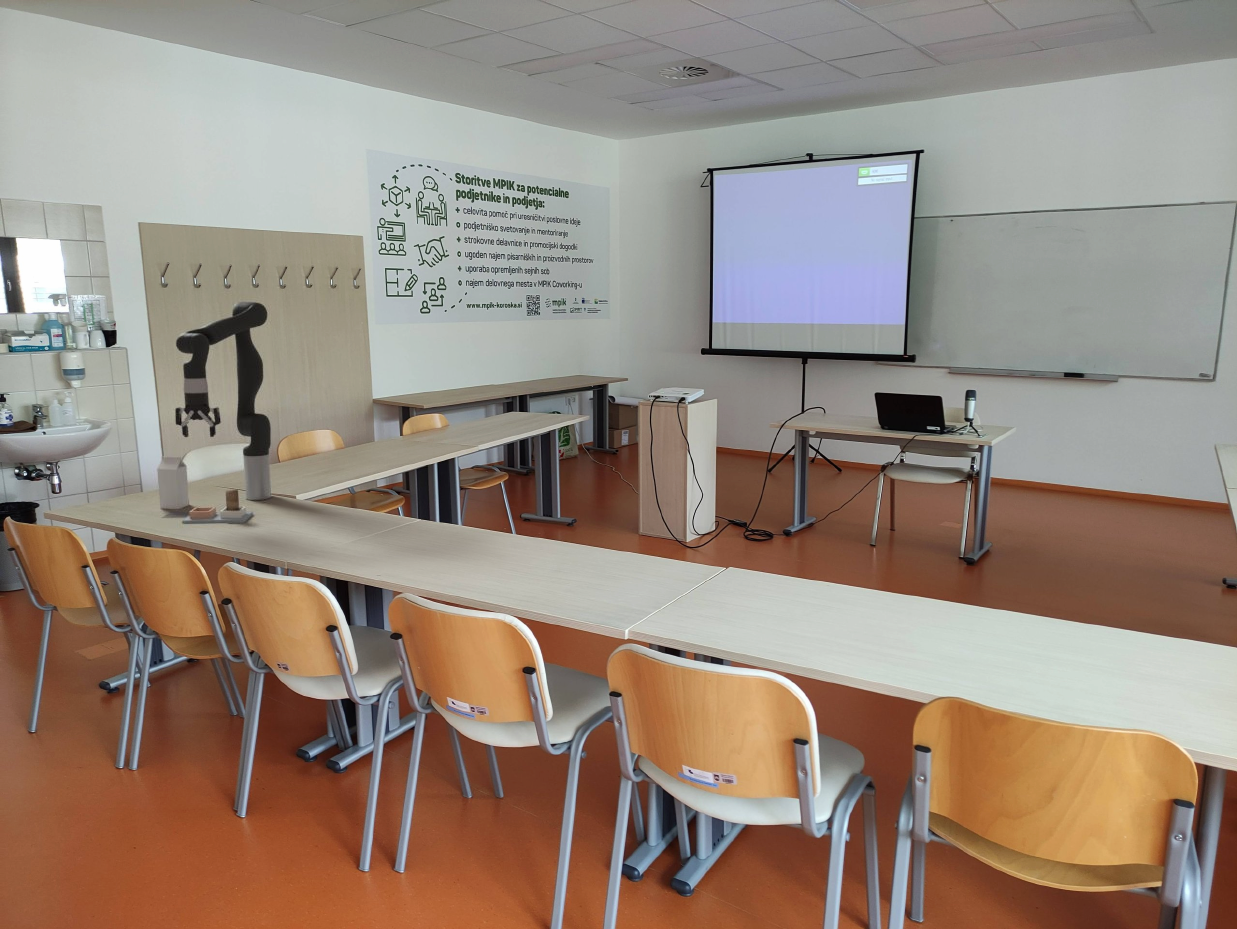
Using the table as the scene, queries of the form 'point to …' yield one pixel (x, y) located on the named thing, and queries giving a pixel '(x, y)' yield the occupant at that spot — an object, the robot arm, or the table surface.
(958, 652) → the table surface
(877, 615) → the table surface
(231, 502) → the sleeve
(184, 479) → the milk carton
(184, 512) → the feeder mat
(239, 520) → the double pet bowl
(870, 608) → the table surface
